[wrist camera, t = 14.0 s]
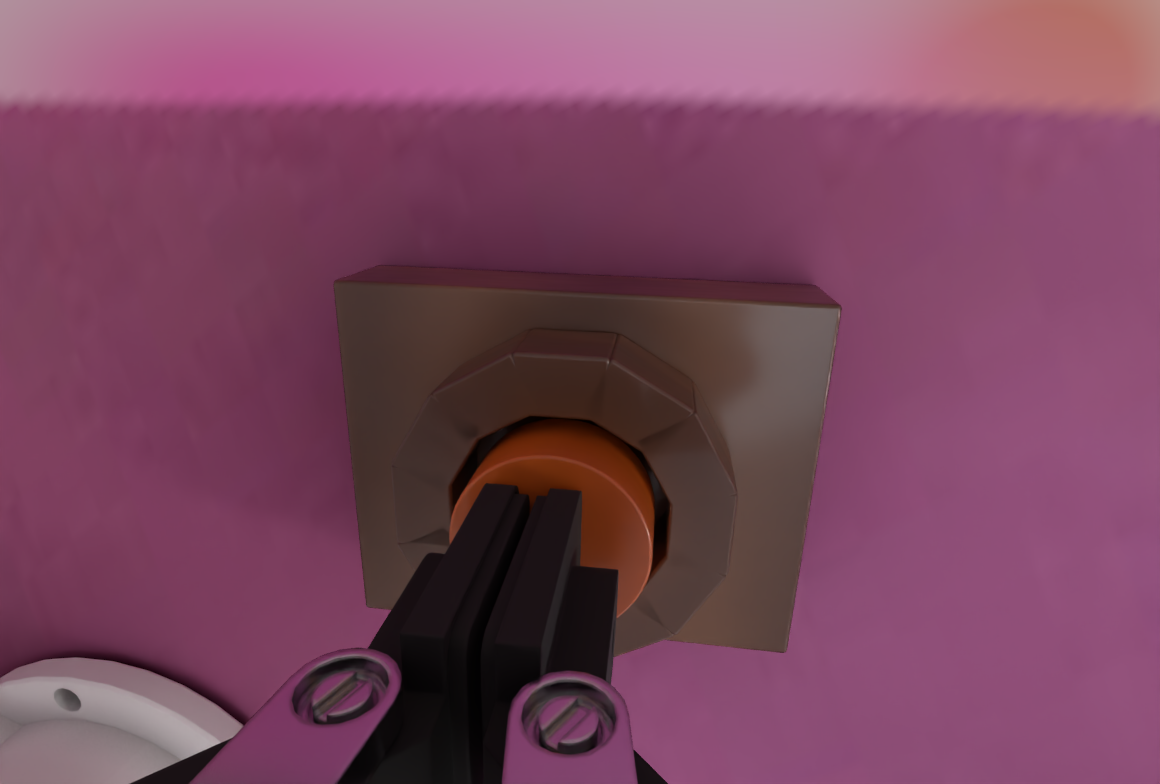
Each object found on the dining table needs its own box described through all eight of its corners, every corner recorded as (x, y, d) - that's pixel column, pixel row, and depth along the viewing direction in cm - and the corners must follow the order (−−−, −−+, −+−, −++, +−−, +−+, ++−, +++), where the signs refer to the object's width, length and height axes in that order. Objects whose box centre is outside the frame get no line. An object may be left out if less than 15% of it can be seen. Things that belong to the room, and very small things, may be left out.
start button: (478, 570, 14) (452, 624, 12) (473, 410, 13) (443, 448, 11) (649, 587, 13) (646, 646, 12) (661, 424, 12) (658, 464, 10)
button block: (400, 557, 18) (328, 661, 14) (377, 264, 15) (281, 296, 11) (772, 594, 17) (802, 718, 13) (818, 284, 14) (872, 328, 10)
